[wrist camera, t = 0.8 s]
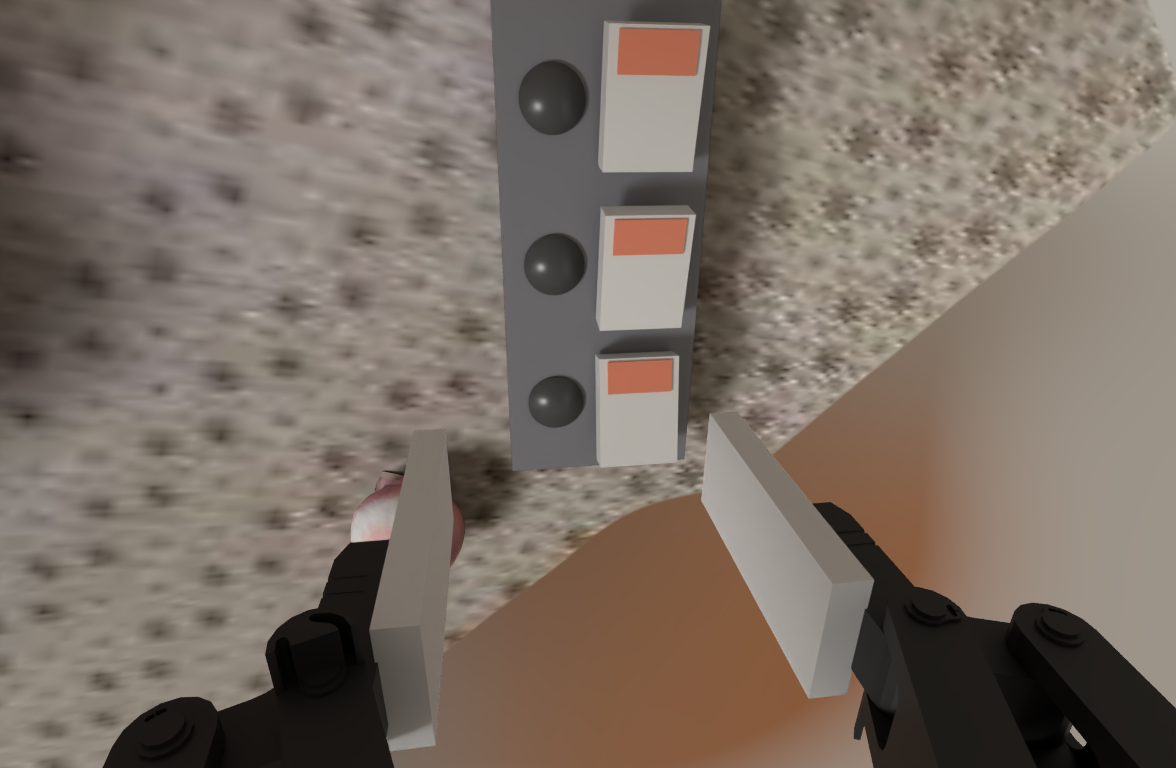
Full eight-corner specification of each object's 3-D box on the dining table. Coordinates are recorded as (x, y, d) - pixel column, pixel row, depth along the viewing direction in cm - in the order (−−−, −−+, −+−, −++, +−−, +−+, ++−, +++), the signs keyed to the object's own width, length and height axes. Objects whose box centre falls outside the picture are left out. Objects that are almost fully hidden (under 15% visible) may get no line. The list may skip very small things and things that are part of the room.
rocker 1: (598, 164, 35) (603, 173, 34) (604, 20, 32) (609, 23, 30) (684, 164, 36) (692, 172, 35) (700, 23, 32) (711, 26, 31)
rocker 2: (595, 318, 39) (600, 331, 38) (600, 206, 35) (606, 216, 34) (674, 315, 40) (681, 328, 38) (687, 205, 36) (696, 215, 34)
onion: (415, 552, 50) (371, 624, 44) (355, 479, 48) (301, 544, 42) (495, 525, 47) (461, 597, 41) (436, 444, 45) (390, 509, 39)
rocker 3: (596, 458, 42) (600, 468, 40) (595, 354, 40) (599, 359, 38) (670, 453, 42) (677, 463, 41) (672, 351, 41) (679, 356, 39)
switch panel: (510, 442, 46) (512, 472, 43) (490, 0, 35) (490, -13, 31) (669, 432, 48) (685, 460, 44) (698, 7, 37) (723, -5, 33)
